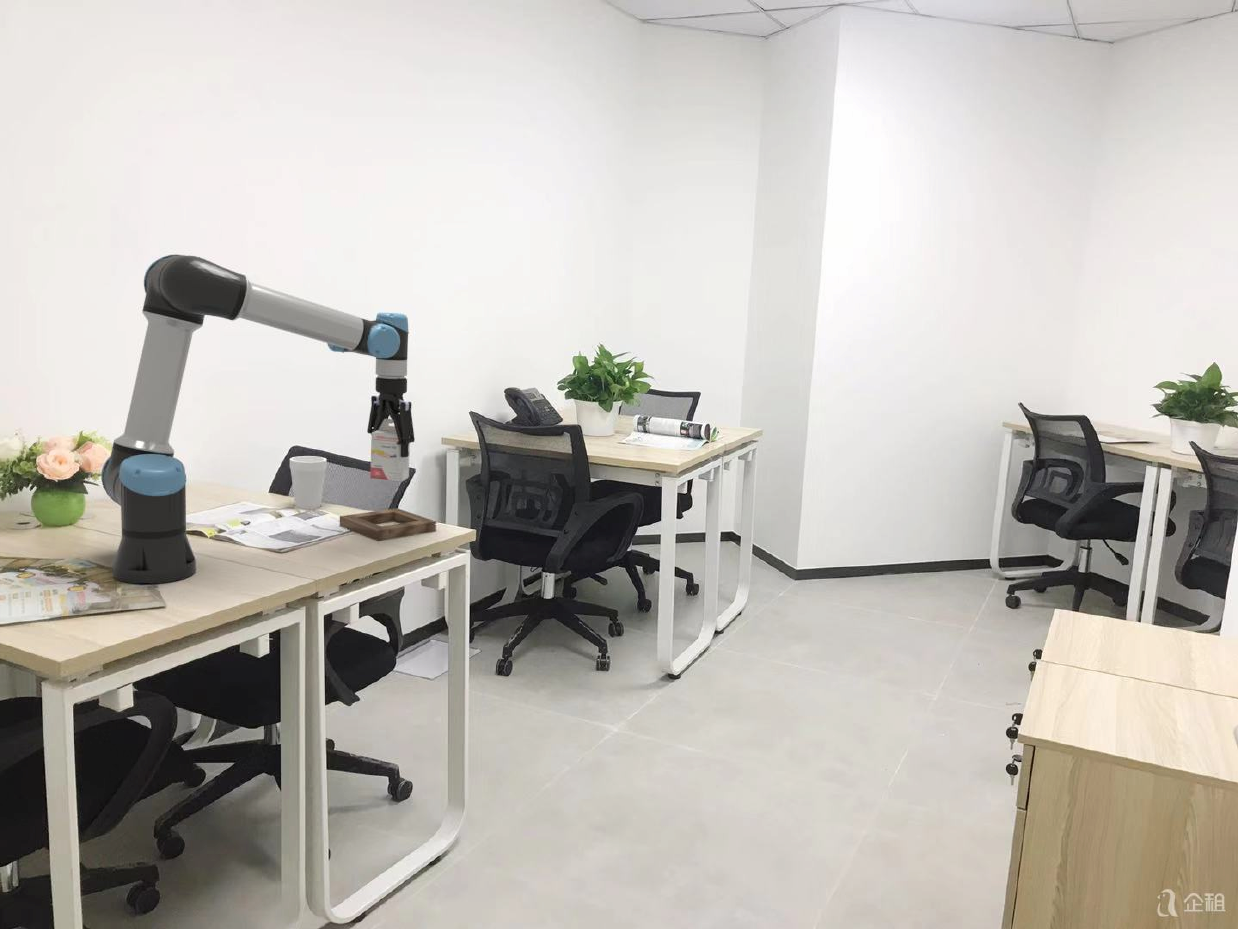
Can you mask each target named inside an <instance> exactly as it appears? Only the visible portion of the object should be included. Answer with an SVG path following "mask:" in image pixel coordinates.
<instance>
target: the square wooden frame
mask: <svg viewBox="0 0 1238 929" xmlns="http://www.w3.org/2000/svg"><path fill="white" fill-rule="evenodd" d="M391 522H395V524H391V525H389V524H388V525H382V526H381V525H379V524H384V523H385V524H386V523H391ZM435 524H436V525H435ZM339 527H341V528H344V529H346V528H347V530H349V531H351V532H354V533H356V534H359V535H362V536H364V537H366V538H369V539H372V540H374V541H377V542H381V541H385V540H391V539H392V540H393V539H397V538H403V537H404V538H405V537H408V536H416V535H422V534H427V533H432V532H434V533H435V532H437V521H436V520H432V519H429V518H426V517H425V516H421V515H419V514H416V513H412V512H410V511H407V510H404V509H400V508H397V507H395V508H389V509H388V508H387V509H382V510H376V511H375V510H374V511H369V512H360V513H353V514H346V515H340V516H339ZM415 534H416V535H415Z"/></svg>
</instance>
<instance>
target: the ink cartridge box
mask: <svg viewBox="0 0 1238 929" xmlns="http://www.w3.org/2000/svg"><path fill="white" fill-rule="evenodd" d="M391 424H394V422H393V419H392V418H388V419H384V421H383V422H382V424H381V426H380V427H379V430H377V431H374V432H372V436H371V440H370V441H371V443H370V445H371V446H370V478H369V479H374V480H375V479H376V480H384V481H385V480H386V481H393V482H394V481H395V482H396V481H397V482H404V481H405V480H407V479H409V477H410V450H411V449H410V444H411V443H409V445H408V460H407V470H399V471H398V470H396V456H397V442H399V440H398V437H397V433H396V429H395V426H394V425H391ZM409 438H410V437H409Z"/></svg>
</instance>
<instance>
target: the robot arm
mask: <svg viewBox="0 0 1238 929" xmlns="http://www.w3.org/2000/svg"><path fill="white" fill-rule="evenodd" d="M143 287H144V288H143V289H144V293H145V296H144V300H143V302H144V303H143V307H142V312H141V313H142V314H143V316H144V317H145V319H146V320H147V323H148V324H147V326H146V332H145V336H144V341H143V346H142V349H141V353H140V354H141V355H140V358H139V363H138V368H137V373H136V377H135V382H134V385H133V391H132V395H131V400H130V405H129V409H128V413H127V418H126V422H125V427H124V431H123V434H121V435H120V436H119V437H116V438H115V439H114V440H113V444H112V448H111V453H110V456H109V457H108V458H107V459H106V460H105V462H104V463H103V466H102V469H101V473H100V478H101V479H100V480H101V484H102V487H103V489H104V491H105V493H106V494H107V496H109V498H110V499H111V500H112V501H113V502H114V503H116V504H117V505H119V506H120V515H121V517H120V518H121V519H120V520H121V522H120V523H121V540H120V541H119V546H118V548H117V551H116V554H115V557H114V561H113V564H112V577H113V578H114V579H116V580H118V581H120V582H124V583H129V582H131V584H140V583H150V584H161V583H163V584H164V583H170V582H176V581H178V580H179V581H180V580H183V579H187V578H189V577H190V576H192V575H193V574H195V573H196V572H197V561H196V556H195V554H194V551H193V549H192V547H191V544H190V542H189V541H190V540H189V538H188V536H187V505H186V504H187V500H186V497H187V496H186V495H187V491H186V490H187V489H186V488H187V487H186V486H187V485H186V483H187V475H186V468H185V465H184V464H183V462H182V461H181V460H179V459H178V458H176V457H174V454H175V450H174V449H173V447H172V446H171V444H170V443H169V442H170V438H171V437H170V436H171V432H172V427H173V425H174V424H173V423H174V419H175V414H176V411H177V405H178V401H179V396H180V391H181V389H182V387H181V386H182V382H183V378H184V374H185V369H186V365H187V360H188V355H189V351H190V347H191V342H192V337H193V333H194V332H195V331H197V330H199V329H201V328H202V327H203V324H204V320H205V316H210V317H211V316H212V317H217V318H222V319H225V320H229V321H233V322H234V321H236V320H237V319H243V320H246V321H249V322H250V321H251V322H253V323H256V324H260V325H264V326H268V327H271V328H274V329H277V330H281V331H285V332H287V333H291V334H295V335H298V336H302V337H304V338H305V337H306V338H308V339H309V338H310V339H313V340H316V341H318V342H319V341H320V342H322V343H326V344H327V347H328V349H329V350H330V351H331V352H334V353H337V352H338V353H339V352H340V353H355V354H359V355H365V356H369V357H372V358H375V374H376V375H377V377H375V391H376V392H377V393H379V395H371V398H370V399H371V400H370V402H371V404H370V405H371V406H370V412H369V418H368V425H367V434H370V435H371V437H372V432H374V431H377V430H379V427H380V426H381V424H382V422H383V421H384V419H389V418H390V419H393V422H394V423H393V426H395V429H396V433H397V437H398V440H399V442H397V456H396V470H398V471H399V470H407V460H408V445H409V443H410V444H411V443H415V431H414V424H413V416H412V404H413V403H412V402H411V401H404V400H405V399H404V394H406V393H407V391H408V378H406V376H408V352H409V350H408V347H409V346H408V344H409V321H408V316H407V315H406V314H404V313H401V312H400V313H398V312H397V313H396V312H378V313H377V314H376V318H375V320H370V319H367V318H366V319H365V318H362V317H359V316H356V315H354V314H350V313H347V312H344V311H341V310H337V309H334V308H331V307H328V306H325V305H322V304H319V303H316V302H313V301H310V300H307V299H304V298H300V297H297V296H294V295H292V294H291V295H290V294H288V293H284V292H283V291H279V290H275V289H272V288H269V287H265V286H264V285H260V284H257V283H254V282H250V280H249V278H248V276H246V275H245V274H242V273H239V272H235V271H233V270H231V269H228V268H225V267H223V266H221V265H219V264H216V263H215V262H212V261H211V260H207V259H205V258H202V257H200V256H196V255H184V254H169V255H165V256H162V257H160V258H158V259H156V260H155V261H152V263H151V264H150V265H149V266H148V268H147V269H146V271H145V274H144V277H143ZM409 437H410V438H409ZM193 576H194V575H193Z"/></svg>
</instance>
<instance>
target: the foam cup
mask: <svg viewBox="0 0 1238 929" xmlns="http://www.w3.org/2000/svg"><path fill="white" fill-rule="evenodd" d="M327 460H328V459H327V458H326V457H322V456H315V455H314V456H313V455H304V456H303V455H302V456H293V457H292V456H291V457H290V458H289V469H290V475H291V481H292V490H293V495H294V502H295V503H294V504H295V508H296V509H301V510H316V509H319V508H320V507H321V504H322V498H323V491H324V485H325V477H326V469H327V462H328V461H327Z"/></svg>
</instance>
